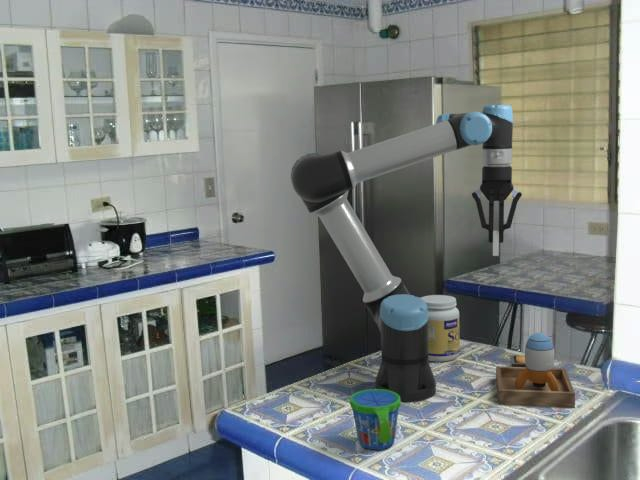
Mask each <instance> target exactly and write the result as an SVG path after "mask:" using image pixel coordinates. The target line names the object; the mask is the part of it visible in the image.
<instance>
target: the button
mask: <svg viewBox="0 0 640 480" xmlns="http://www.w3.org/2000/svg"><path fill="white" fill-rule="evenodd" d="M516 363H525V354H519V356H516Z"/></svg>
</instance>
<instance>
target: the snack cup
mask: <svg viewBox="0 0 640 480" xmlns="http://www.w3.org/2000/svg"><path fill="white" fill-rule="evenodd" d="M349 405H350V407H351V410H352V413H353V420H354V424H355V430H356V435H357V439H358V443H359V444H360V446H362V447H363V448H364V449H368V450H375V451H377V450H380V451H382V450H384V449H388V448H390V447H392V446H393V445H394V443H395V440H396V434H397V433H396V432H397V425H398V416H399V409H400V407H401V405H402V401H401V400H400V396H399V395H398V394H397V393H395V392H393V391H389V390H383V389H375V388H371V389H370V388H369V389H364V390H359V391H357V392H355V393H353V394H351V396H350V398H349Z"/></svg>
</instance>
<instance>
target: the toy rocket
mask: <svg viewBox="0 0 640 480" xmlns="http://www.w3.org/2000/svg"><path fill="white" fill-rule="evenodd" d="M553 343H554V342H553V341H552V339H551V337H550V336H549V335H547V334H545V333H542V332H535V333H532V334H531V335H530V336H529V337H528V339H527V341H526V344H525V347H524V348H525V349H524V355H525V365H526V369H524V370H522V371H521V372H520V373H519V374H518V375H517V377H516V380H515V387H516V390H520V389H521V388H522V387H523V385H524V384H525V383H526V380H529V381H532V382H533V386H535V387H545V385H546V384H545V383H548V386H549V388H550V390H551V391H559V387H558V383H557V380H556V378H555V377H554V375H553V374H552V370H553V368H554V365H555V347H554V344H553Z"/></svg>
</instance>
